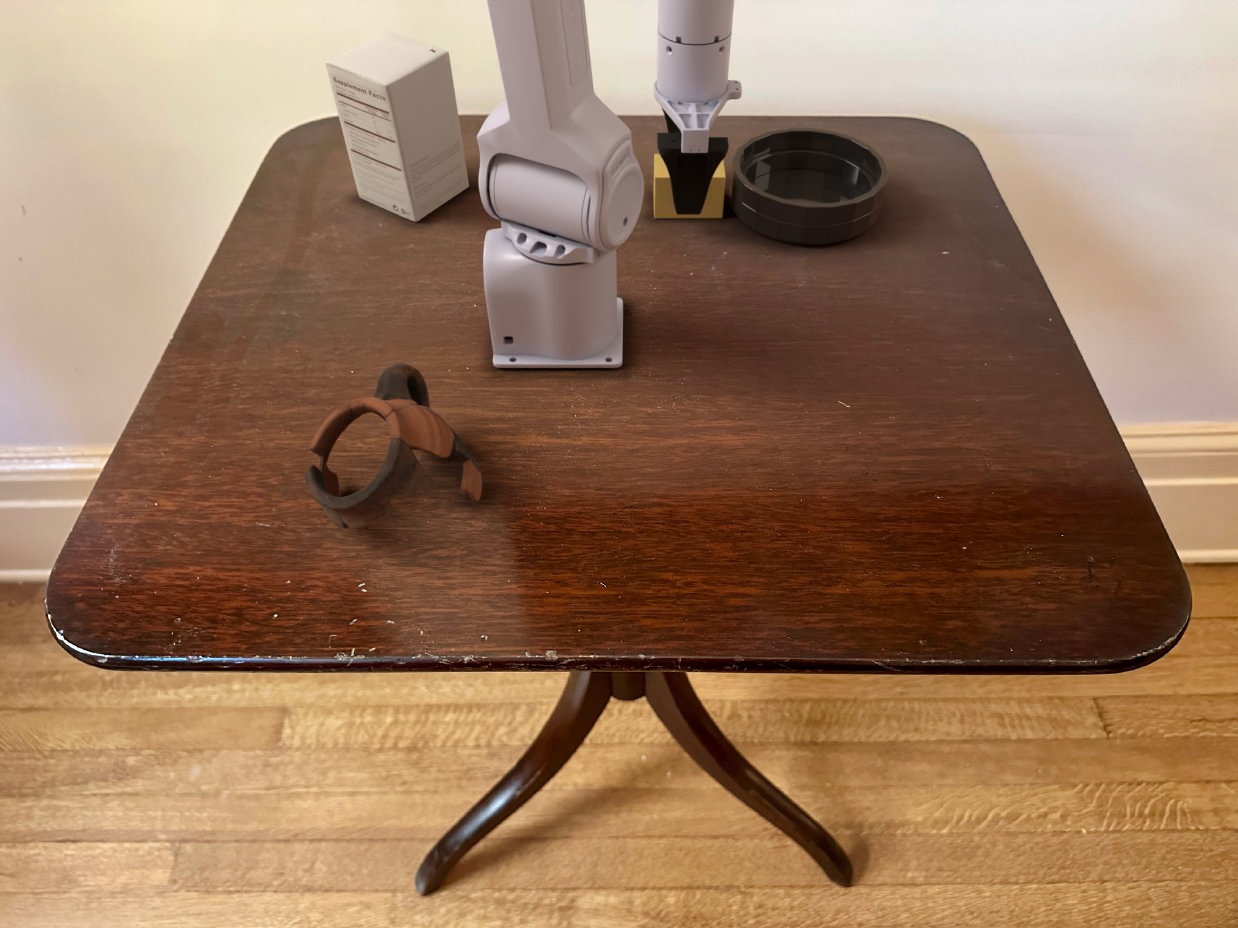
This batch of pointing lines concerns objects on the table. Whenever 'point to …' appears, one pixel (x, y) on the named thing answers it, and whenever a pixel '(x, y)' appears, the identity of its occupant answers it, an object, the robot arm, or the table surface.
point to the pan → (807, 185)
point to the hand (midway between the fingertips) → (686, 188)
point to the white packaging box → (400, 123)
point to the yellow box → (665, 197)
